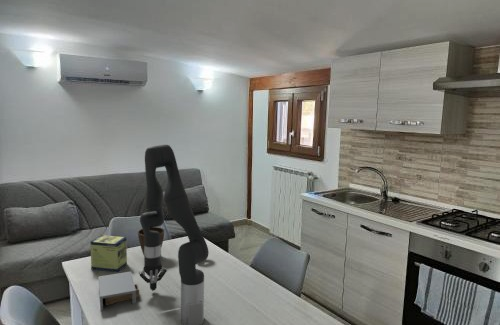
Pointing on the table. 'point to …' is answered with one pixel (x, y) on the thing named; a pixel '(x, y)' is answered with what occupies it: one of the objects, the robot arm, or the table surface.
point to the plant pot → (141, 233)
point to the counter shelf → (116, 286)
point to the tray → (122, 297)
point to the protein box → (108, 253)
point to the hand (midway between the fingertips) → (153, 289)
